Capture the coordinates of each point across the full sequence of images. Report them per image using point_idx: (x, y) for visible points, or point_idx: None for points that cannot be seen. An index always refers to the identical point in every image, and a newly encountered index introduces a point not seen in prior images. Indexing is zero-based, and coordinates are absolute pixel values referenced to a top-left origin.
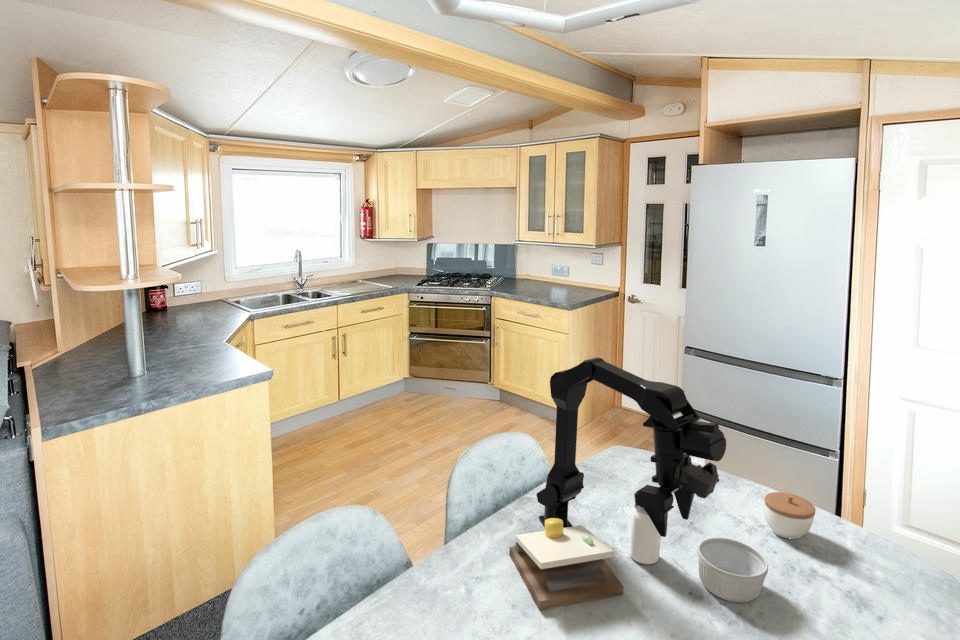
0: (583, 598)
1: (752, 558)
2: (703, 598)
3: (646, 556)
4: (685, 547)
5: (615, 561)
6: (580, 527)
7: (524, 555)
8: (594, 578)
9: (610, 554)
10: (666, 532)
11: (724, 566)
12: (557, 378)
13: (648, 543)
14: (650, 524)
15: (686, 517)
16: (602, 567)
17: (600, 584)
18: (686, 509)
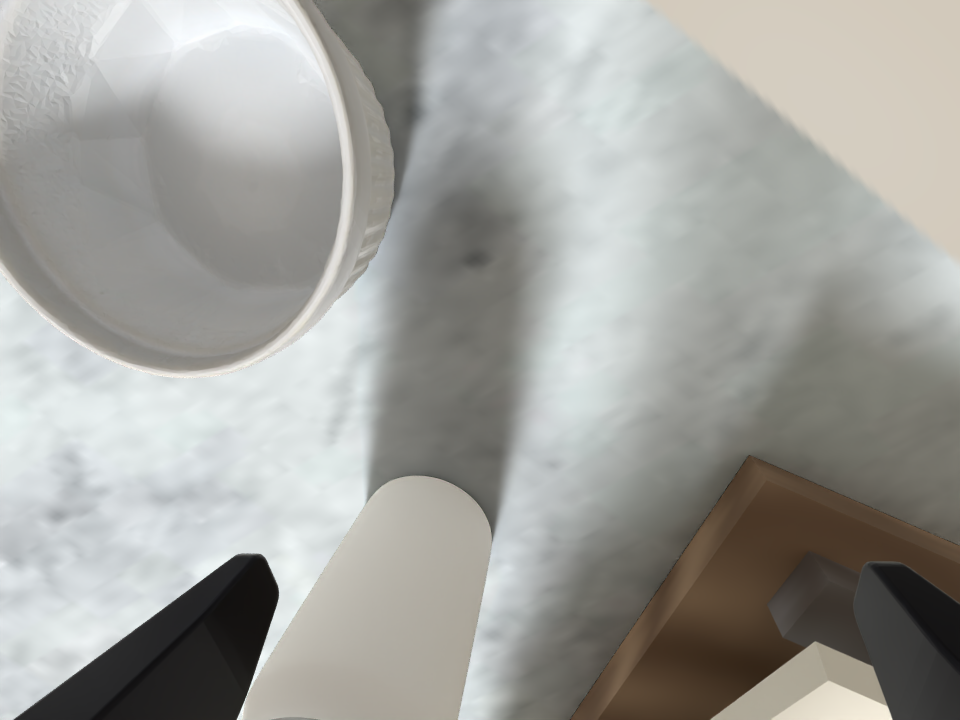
0: (956, 550)
1: (18, 111)
2: (457, 193)
3: (465, 521)
4: (214, 446)
5: (560, 587)
6: None
7: None
8: None
9: (851, 672)
10: (917, 606)
11: (178, 247)
12: None
13: (447, 569)
14: (412, 674)
15: (249, 579)
16: (713, 609)
17: (848, 553)
18: (174, 682)
